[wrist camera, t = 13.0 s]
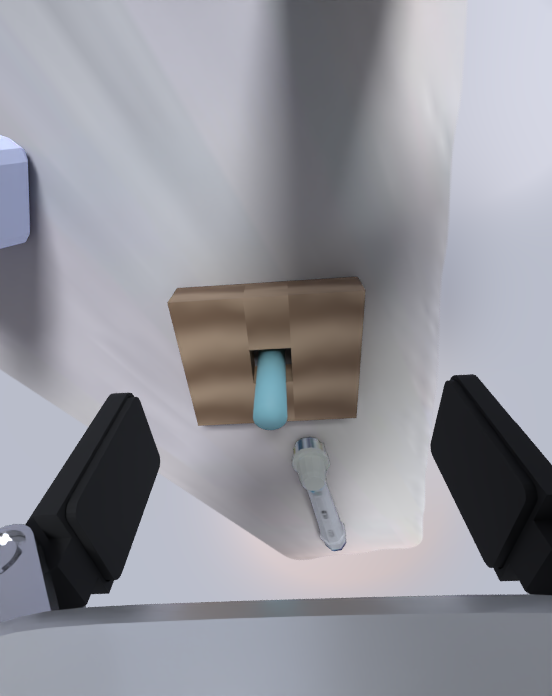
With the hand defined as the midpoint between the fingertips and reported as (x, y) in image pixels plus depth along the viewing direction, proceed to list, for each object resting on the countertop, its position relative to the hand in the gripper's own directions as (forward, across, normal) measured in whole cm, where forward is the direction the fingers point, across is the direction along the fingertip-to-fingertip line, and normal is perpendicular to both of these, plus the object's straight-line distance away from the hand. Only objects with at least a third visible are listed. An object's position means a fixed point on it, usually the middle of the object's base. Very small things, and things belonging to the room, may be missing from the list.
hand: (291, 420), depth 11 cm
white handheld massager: (+29, -4, +42) cm, 51 cm away
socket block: (+28, +2, +14) cm, 32 cm away
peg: (+28, +2, +14) cm, 31 cm away
